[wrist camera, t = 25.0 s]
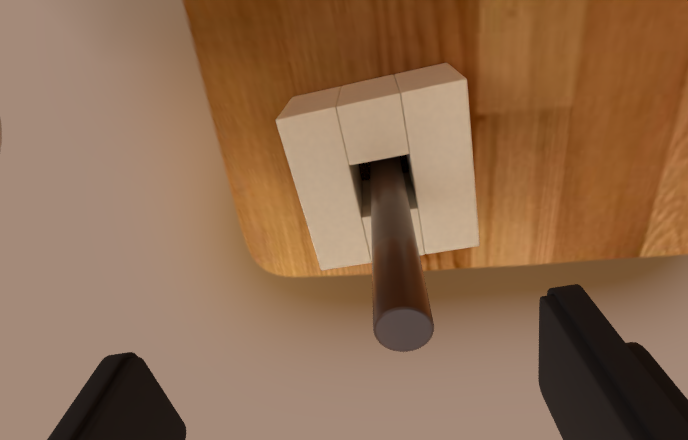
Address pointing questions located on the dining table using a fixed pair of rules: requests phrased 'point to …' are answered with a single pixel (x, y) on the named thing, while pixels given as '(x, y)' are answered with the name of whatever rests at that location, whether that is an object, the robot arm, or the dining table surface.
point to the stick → (396, 263)
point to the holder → (380, 143)
